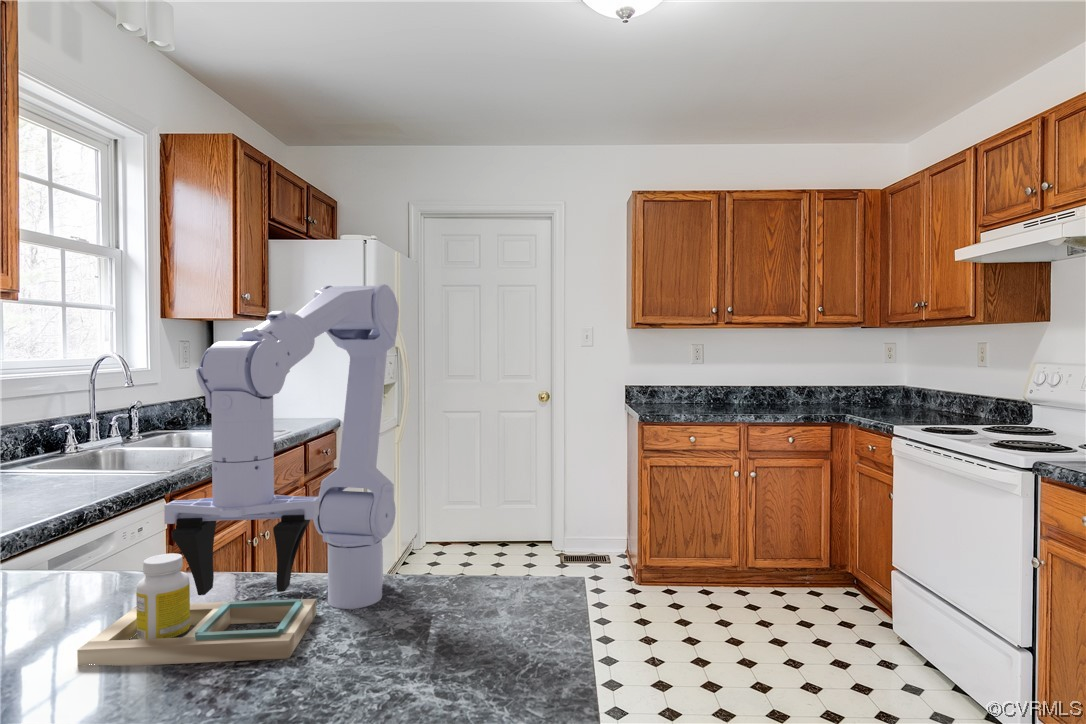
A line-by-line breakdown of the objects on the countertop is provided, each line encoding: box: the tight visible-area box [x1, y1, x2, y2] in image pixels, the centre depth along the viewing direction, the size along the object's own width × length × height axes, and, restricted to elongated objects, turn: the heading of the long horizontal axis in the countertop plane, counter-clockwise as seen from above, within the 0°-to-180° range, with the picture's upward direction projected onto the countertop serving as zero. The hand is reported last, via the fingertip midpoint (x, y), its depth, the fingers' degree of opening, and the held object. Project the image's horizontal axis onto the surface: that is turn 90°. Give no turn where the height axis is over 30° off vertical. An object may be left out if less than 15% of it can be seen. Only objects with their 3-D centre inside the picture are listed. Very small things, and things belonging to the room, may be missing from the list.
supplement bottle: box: [135, 552, 191, 639], centre depth 75 cm, size 5×5×10 cm
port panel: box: [76, 598, 318, 667], centre depth 75 cm, size 12×22×2 cm, turn 96°
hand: (244, 589), depth 65 cm, fingers open, 7 cm apart
